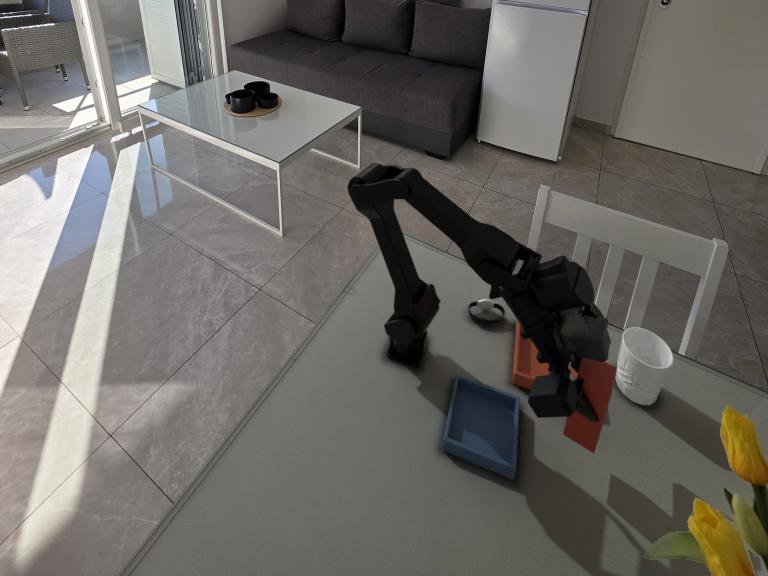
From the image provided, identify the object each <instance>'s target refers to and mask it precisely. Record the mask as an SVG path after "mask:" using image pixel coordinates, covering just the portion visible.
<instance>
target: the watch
mask: <svg viewBox="0 0 768 576" xmlns="http://www.w3.org/2000/svg"><path fill="white" fill-rule="evenodd" d="M473 307H479V308H480V309H482V310H483V309H484V310H489V309H492V308H494V309H497V310H499V311H500V313H501V314H502V317H499V318H498V319H487V318H486V319H485V318H480V317H477V316H476V315H474V314H473V313H472V311H471V308H473ZM467 311H468V315H469V317H470V319H472V320H473V321H475V322H476V323H479V324H482V325H486V326H490V325H497V324H500V323H501V322H502V321H503V320H504V317H505V314H506V311H505V308H504V307H503V305H502V304H499V303H495V302H493V301H492V299H490V298H489V299H488V298H482V299H479V300H477V301H472V302H470V303H469V305H468V310H467Z"/></svg>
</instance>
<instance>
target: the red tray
mask: <svg viewBox="0 0 768 576" xmlns="http://www.w3.org/2000/svg"><path fill="white" fill-rule="evenodd" d="M521 329H522V326H521V325H520V323H519V322H518V320H517V319H516V324H515V340H514V355H513V367H512V384H513V385H515V386H518V387H521V388H524V389H527V390H530V391H531V389H532V386H533V383H534V380H535V377H536V376H544V375H549V372H548V368H549V365H548V363H542V364H540V363H539V362H538V360H537V359H536V356H537V353H538V350H537V349H536V347H535V346H534V344H533V343H532V341H531V340H530V338H529V339H523V338H522V336H521V335H520V331H521ZM570 370H571V372H572V374H573V376H574V377H575V379H576V378H577V374H578V373H577V372H576V371H575V370H574V369H573V368H572V367H571V366H570Z"/></svg>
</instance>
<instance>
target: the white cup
mask: <svg viewBox="0 0 768 576" xmlns="http://www.w3.org/2000/svg"><path fill="white" fill-rule="evenodd" d="M673 364H674V353H673V352H672V350H671V348H670V347H669V345H668V344H667V342H666V341H665V340H664V339H662V338H661V337H660V336H658V335H657V334H656V333H654V332H652V331H650V330H649V329H646V328H642V327H638V326H632V327H628V328H626V329H624V331H623V332H622V337H621V341H620V346H619V351H618V356H617V362H616V366H617V367H616V371H615V377H614V380H615V382H616V385H617V387H618V389H619V390H620V392H621V393H622V394H623V395H624V396H625V397H626V398H628V399H629V400H630V401H631V402H633V403H635V404H637V405H640V406H652V405H653V404H654V403H655V402H657V399H658V396H659V394H660V392H661V391H662V389H663V388H664V385H665V382H666V380H667V378H668V375H669V373H670V370H671V368H672V366H673Z"/></svg>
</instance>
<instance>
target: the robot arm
mask: <svg viewBox="0 0 768 576" xmlns="http://www.w3.org/2000/svg"><path fill="white" fill-rule="evenodd" d="M346 187H347V193H348V195H349V197H350V199H351V201H352V203H353V205H354V207H355V209H356V211H357V212H358V213H360V214H361V215H363V216H364V217H365V218H367V220H368V221H369V223H370V226H371V229H372V231H373V234H374V237H375V239H376V241H377V245H378V248H379V251H380V252H381V253H380V254H381V255H382V257H383V261H384V263H385V266H386V269H387V271H388V274H389V277H390V279H391V282H392V285H393V287H394V295H393V296H394V298H393V313H392V314H391V315H390V316H389V318H388V319H387V321H386V322H385V323H384V324H383V326H384V331H385V333H386V335H387V336H388V337H389V345H388V348H387V350H386V353H385V355H386V357H387V358H388V359H391V360H393V361H397V362H399V363H402V364H405V365H408V366H409V367H413V368H418V367H420V362H421V359H423V358H424V356H425V352H426V349H427V342H428V330H427V329H428V328H429V326H430V325H431V323H432V322H433V320H434V319H435V317H436V316H437V315H438V312H439V310H440V304H441V301H442V300H441V299H440V298H439V296H438V294H437V291H436V287H435V285H434V284H433V283H427V282H425V281H424V280H423V279H422V278H420V276H419V273H418V271H417V267H416V265H415V263H414V261H413V258H412V255H411V252H410V249H409V247H408V246H409V245H408V244H407V241H406V238H405V236H404V234H403V231H402V228H401V225H400V222H399V220H398V217H397V214H396V211H395V200H404V201H405V202H406V203H407V204H408V205H410V206H411V207H412V208H413V209H414V210H416V211H417V212H418V213H419V214H420V215H422V216H423V217H424V218H425V219H426V220H427V221H429V222H430V224H432V225H433V226H435V227H436V229H438V230H439V231H440V232H441V233H442V234H444V236H446V237H447V238H448V239H450V240H451V241H452V242H453V243H454V244H455V245H456V246H457V247H458V248H459V249H460V251H461V253H462V256H463V258H464V260H465V263H466V264H467V265H468V266H469V267H470V268H471V270H472V271H474V273H475V274H476V275H477V276H478V277H479V279H480V280H482V281H483V282H484V283H485V284H487V285H490V290H489V293H488V298H489V300H495V299H499V298H502V300H503V301H504V302H505V304H506V305H507V307H508V308H509V310H510V311H511V313H512V314H513V315H514V317H515V319H516V321H517V320H518V322H519V323H520V325H521V326H522V329H521V331H520V335H521V336H522V338H523V339H529V338H530V340H531V341H532V343H533V344H534V346H535V347H536V349H537V350H538V353H537V356H536V359H537V360H538V362H539V363H540V364H542V363H548V365H549V368H548V372H549V375H544V376H536V377H535V380H534V383H533V386H532V389H531V390H530V392H529V395H528V400H527V403H528V405H529V407H530V408H531V410H532V411H533V413H534V414H535V416H536V418H538V419H544V418H545V419H546V418H567V417H570V416H571V415H572V414H573V413H574V411H576V412H578V413H579V414H581V415H582V416H584V417H585V418H587V419H588V420H590V421H592V422H599V418H598V416H597V414H596V412H595V410H594V408H593V407H592V405H591V403H590V402H589V400H588V398H587V397H586V395H585V393H584V392H583V390H582V388H583V384H584V379H575V377H574V376H573V374H572V372H571V370H570V366H571V367H572V368H573V369H574V370H575V371H576V372H577V373H578V370H579V366H580V362H581V358H588V359H593V360H595V361H597V362H607V361H608V360H609V354H610V353H609V351H610V348H611V347H610V346H611V344H612V339H611V337H610V334H609V331H608V327H609V320H608V318H607V317H605V315H604V314H603V313H602V311H601V310H600V308H599V307H598V306H597V305H596V304H595V303H594V302H595V289H594V286H593V283H592V280H591V278H590V276H589V274H588V272H587V271H586V269H585V268H584V267H583V266H581V265H580V264H579V263H578V262H576V261H570V260H569V259H568V258H567V256H566V255H560V256H556V257H555V258H553V259H552V260H548V261H547V260H546V261H544V262H541V261H542V258H543V256H542V254H541V253H539V252H537V251H535V250H533V249H532V248H530V247H529V246H527V245H524V244H523V243H521V242H519V241H517V240H515V238H514V237H512V235H510V234H508V233H506V232H505V231H503V230H501V229H500V228H498V227H497V226H495V225H493V224H488V223H484V222H480V221H478V220H477V219H475V218H474V217H472V216H471V215H470V214H468V212H466V211H465V210H463V208H461V207H460V206H459V205H457V204H456V203H455V202H454V201H453V200H451V199H450V198H449V197H448V196H446V195H445V194H444V193H443V192H441V190H439V189H438V188H436V186H434V185H433V184H432V183H430V182H429V181H428V180H427V179H425V178H424V177H423V175H422V173H421V172H420V171H419V169H417V168H415V167H402V166H400V165H397V164H381V163H379V162H372V163H370V164H368V165H367V166H366V167H365V168H363V169H362V170H360V171H359V172H357V174H355V175H354V176H352V177H351V178H350V179H349V181H348V184H347V186H346ZM519 261H522V264H521V266H520V268H519V270H518V272H517V273H514V271H515V270H516V267H517V266H518V263H519Z"/></svg>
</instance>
